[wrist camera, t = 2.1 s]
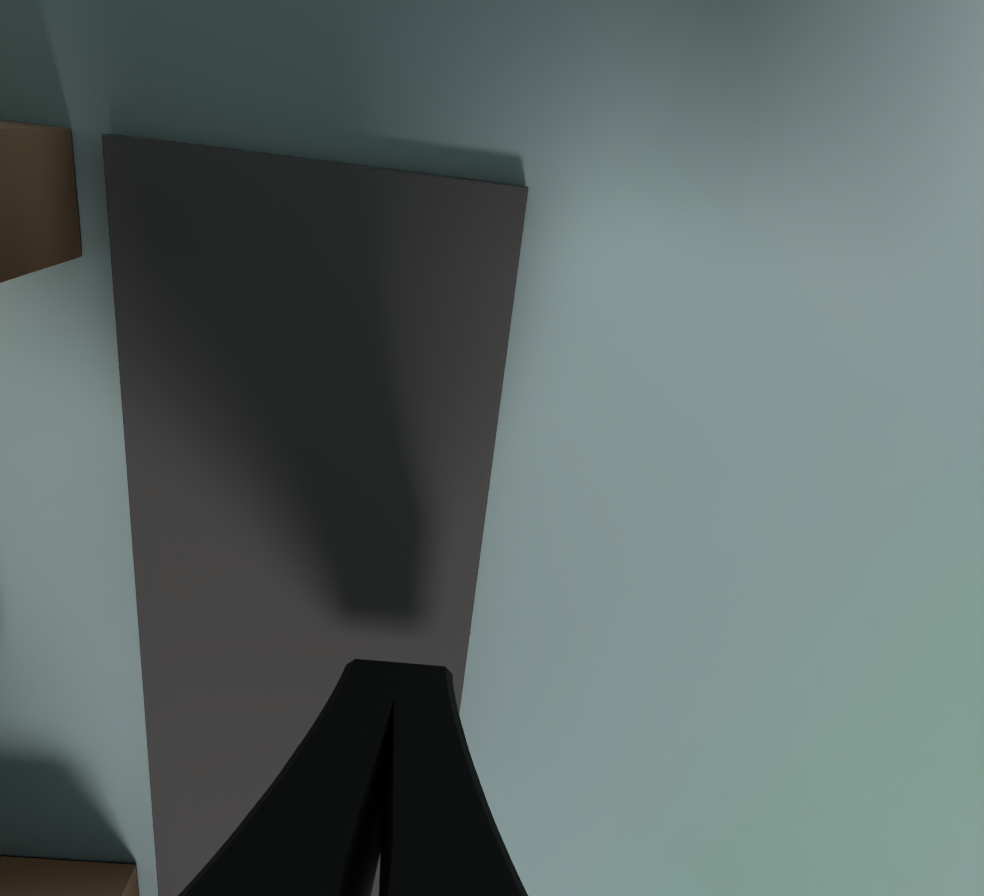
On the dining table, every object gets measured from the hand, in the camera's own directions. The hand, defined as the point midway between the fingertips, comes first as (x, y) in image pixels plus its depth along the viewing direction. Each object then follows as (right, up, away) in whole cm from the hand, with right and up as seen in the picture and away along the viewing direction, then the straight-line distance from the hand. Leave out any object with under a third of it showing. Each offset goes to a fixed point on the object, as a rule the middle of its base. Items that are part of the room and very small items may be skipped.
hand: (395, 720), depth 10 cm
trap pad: (-2, +1, +2) cm, 2 cm away
